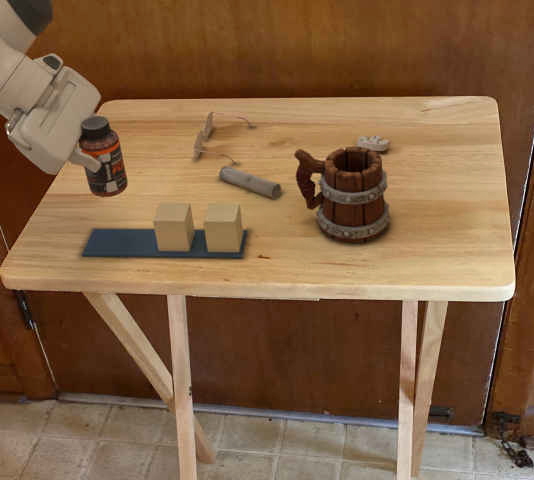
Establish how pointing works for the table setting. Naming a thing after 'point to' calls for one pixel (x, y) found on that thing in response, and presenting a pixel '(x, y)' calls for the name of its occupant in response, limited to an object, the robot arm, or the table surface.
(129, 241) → the line strip
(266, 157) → the table surface
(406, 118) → the table surface
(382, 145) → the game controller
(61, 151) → the robot arm
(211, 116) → the eyeglasses
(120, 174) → the supplement bottle
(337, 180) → the mug
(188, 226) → the cream block
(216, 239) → the cream block
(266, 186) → the rod
